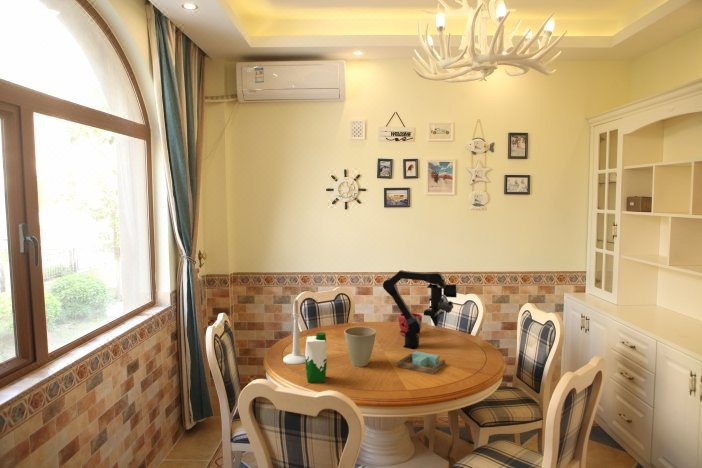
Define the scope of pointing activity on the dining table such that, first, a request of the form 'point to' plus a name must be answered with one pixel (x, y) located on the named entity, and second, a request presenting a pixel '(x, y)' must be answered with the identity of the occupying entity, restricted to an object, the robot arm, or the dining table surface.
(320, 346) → the milk carton
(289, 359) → the candlestick
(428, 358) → the tee
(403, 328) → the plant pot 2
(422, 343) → the dining table surface
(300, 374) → the dining table surface
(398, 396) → the dining table surface
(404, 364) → the dock
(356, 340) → the plant pot
